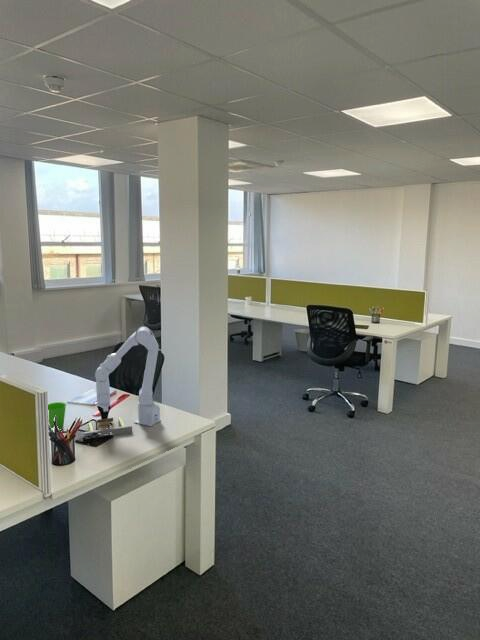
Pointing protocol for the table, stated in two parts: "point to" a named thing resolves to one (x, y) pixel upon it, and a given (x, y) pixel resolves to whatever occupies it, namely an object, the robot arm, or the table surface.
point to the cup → (57, 413)
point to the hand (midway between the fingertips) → (104, 421)
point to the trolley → (105, 423)
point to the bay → (115, 431)
